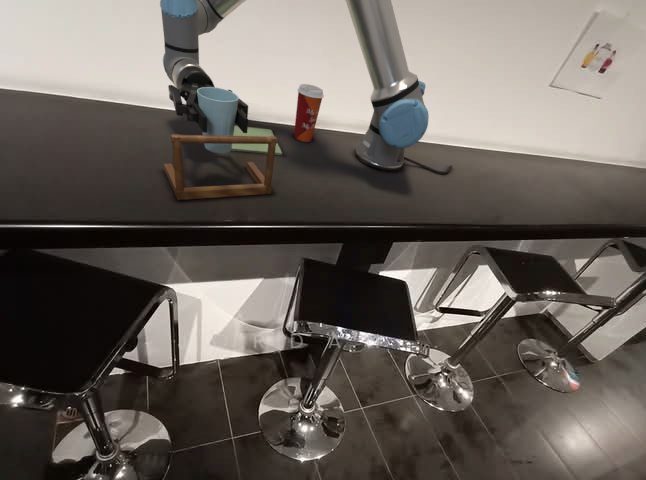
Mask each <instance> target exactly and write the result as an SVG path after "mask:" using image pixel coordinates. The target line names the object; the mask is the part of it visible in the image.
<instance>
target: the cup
mask: <svg viewBox="0 0 646 480" xmlns="http://www.w3.org/2000/svg"><path fill="white" fill-rule="evenodd" d="M228 90H229V89H224V88H221V87H202V88H199V89H198V90H197V96H198V103H199V107H200V109H201V110H202V112H203V113H204V114H205V116H206V117H207V132H202V135H214V136H233V134H234V127H235V126H236V123H235V119H236V112H237V106H238V99H240V97H239V96H238V94H236V93H235V92H234V91H232V90H231V91H232V92H231V91H228ZM203 145H204V148H205V149H206V150H207V151H209V152H211V153H215V154H227V153H230V152H231V148H232V144H203Z"/></svg>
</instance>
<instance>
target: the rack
mask: <svg viewBox="0 0 646 480" xmlns="http://www.w3.org/2000/svg"><path fill="white" fill-rule="evenodd" d="M170 142H171V148H172V149H171V150H172V160H173V164H172V163H163V170H164V173H165V176H166V178H167V180H168V182H169V185H170V186H171V188H172V190H173V193H174V196H175V197H176V199H177V201H183V200H199V199H213V198H227V197H228V198H229V197H243V196H257V195H271V194H272V190H273V186H272V180H273V172H274V163H275V149H276V144H277V143H278V137H277V136H275V135H274V136H214V135H203V134H178V133H172V134H170ZM182 144H202V145H204V144H268V151H267V154H266V161H265V171H264V174H263V173H262V171H260V169H259V168H258V167H257V165H256V163H255V162H253V161H246V166H245V167H246V170H247V172H248V173H249V174H250V176H251V178H252V179H253V180H254V182H255V183H247V184H246V183H245V184H229V185H227V184H226V185H210V186H194V187H193V186H191V187H188V186H187V187H185V177H184V162H183V149H182V148H183V147H182Z"/></svg>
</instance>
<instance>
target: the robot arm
mask: <svg viewBox="0 0 646 480" xmlns="http://www.w3.org/2000/svg"><path fill="white" fill-rule="evenodd" d="M246 1H247V0H160V1H159V7H160V10H161V12H160V13H161V19H162V20H161V21H162V31H163V40H164V54H163V57H162V63H163V64H162V65H163V68H164V72H165V74H166V76H167V77H168V79H169V80H170V81H171V83H172V84H168V85H167V89H168V97H169V100H170V101H172V102H173V107H174V110H175V114H176V116H178V117H183V116H184V115H186V121H187V122H195V123H196V124H197V126H198V127H199V129H200V130H201V132H202V133H203V132H207V117H206V116H205V114H204V113H203V112H202V110H201V109H200V107H199V103H198V96H197V90H198V89H199V88H202V87H215V84H214V81H213V80H212V78H211V77H210V76H209V75H208V73H207V72H206V71H205V70H204V68H202V67H201V65H200V51H199V50H200V49H199V46H200V45H199V43H200V42H199V36H201V35H203V34H208V33H210V32H212V31H213V30H214V29H216V28H217V26H218V24H220V23H221V22H222V21H223V20H224V19H225V18H227V16H228V15H231V13H232V12H234V11H235V10H236V9H237V8H239V7H240V6H241V5H242V4H243V3H245V2H246ZM345 3H346V6H347V9H348V12H349V15H350V18H351V22H352V25H353V28H354V31H355V34H356V37H357V41H358V44H359V47H360V50H361V53H362V56H363V59H364V63H365V65H366V68H367V73H368V75H369V78H370V81H371V84H372V87H373V89H372V92H371V95H370V97H369V99H370V101H371V105H372V106H371V107H372V109H373V113H372V116H371V120H370V123H369V126H368V129H367V130H366V132H365V134H364V135H363V137H362V139H361V140H360V141H359V142H358V145H357V147H356V149H355V153H354V154H355V157H356V159H358V160H359V161H360V162H361V163H363V164H364V165H366V166H368V167H371V168H373V169H376V170H380V171H385V172H397V171H399V170H401V169H402V167H403V165H404V161H407V162H409V163H412V164H415V165H416V166H419V167H421V168H423V169H426V170H428V171H431V172H433V173H436V174H442V175H443V174H449V172H450V171H451V170H452V168H453V165H451V164H450V165H449V166H448V168H447V170H446V171H442V170H438V169H434V168H433V167H430V166H428V165H425V164H422V163H420V162H418V161H416V160H413V159H411V158H408V157H406V156H405V149H406V148H410V147H412V146H414V145H415V144H416V143H417V144H418V142H419V141H420V140H421V139H422V138H423V136H425V133H426V132H427V130H428V126H429V111H428V108H427V107H426V104H425V102H424V98H423V96H424V95H425V90H426V86H427V85H426V83H425V82H423V81H421V80H419V77H418V75H417V74H415V73H413V72H411V71H410V70H409V66H408V62H407V58H406V54H405V50H404V47H403V43H402V42H403V41H402V39H401V34H400V31H399V27H398V23H397V18H396V14H395V11H394V5H393V2H392V0H345ZM215 88H216V87H215ZM227 90H228V91H231V92H233V91H232V90H231V89H227ZM183 100H184V102H185V103H183ZM248 115H249V105H248V104H247V103H246V102H244V101H243V100H242V99H241V98H239V99H238V106H237V112H236V119H235V125H236V126H238V127H239V128H240V129H241V131H242V132H243V133H247V128H248V127H249V116H248Z"/></svg>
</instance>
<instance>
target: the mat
mask: <svg viewBox="0 0 646 480" xmlns="http://www.w3.org/2000/svg"><path fill="white" fill-rule="evenodd" d="M233 136H275V135H274V133H273V130H272V129H268V128H260V127H251V126H248V128H247V133H243V132H242V131H241V129H240V128H239V127H238V126H237V125H235V127H234V134H233ZM231 151H232V152H243V153H252V154H254V153H255V154H265V155H267V151H268V144H232V148H231ZM231 151H230V152H231ZM275 155H277V156H283V152H282V150H281V147H280V146H279V143H278V142H277V144H276V149H275Z"/></svg>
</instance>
